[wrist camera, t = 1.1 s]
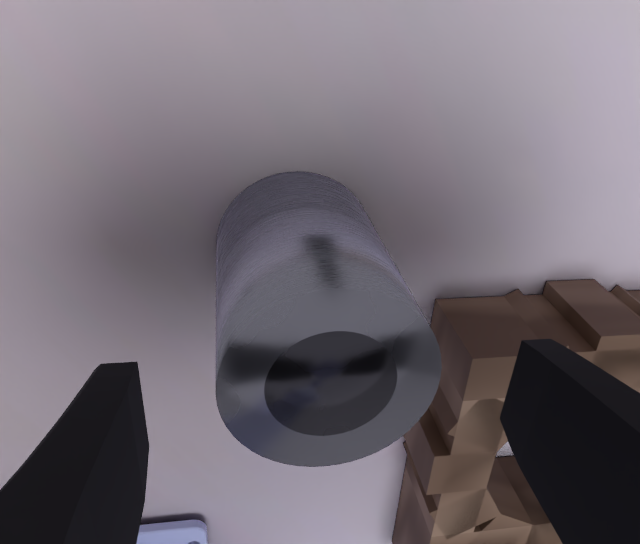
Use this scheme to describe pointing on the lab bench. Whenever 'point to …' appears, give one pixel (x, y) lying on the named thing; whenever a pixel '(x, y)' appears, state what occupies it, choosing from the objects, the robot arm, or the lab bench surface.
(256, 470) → the lab bench surface
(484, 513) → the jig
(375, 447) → the bushing
